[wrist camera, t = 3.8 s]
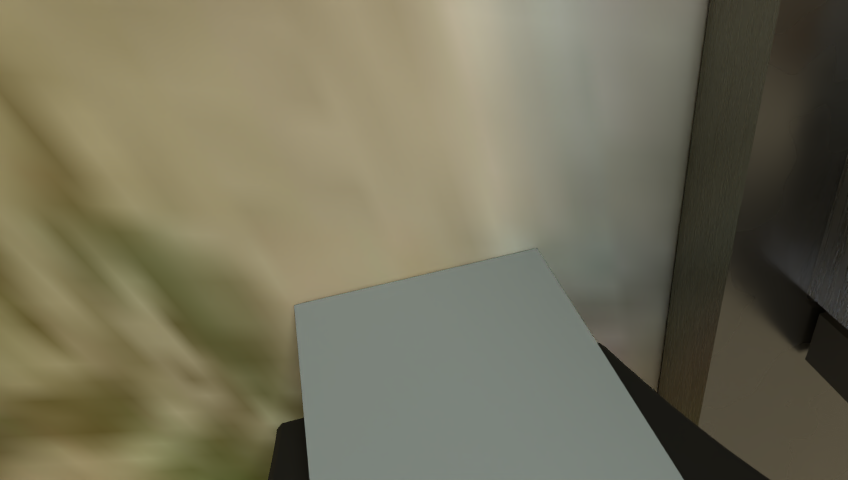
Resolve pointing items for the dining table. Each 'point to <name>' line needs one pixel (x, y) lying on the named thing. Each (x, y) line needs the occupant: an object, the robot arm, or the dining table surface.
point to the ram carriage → (830, 353)
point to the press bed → (764, 237)
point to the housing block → (466, 383)
